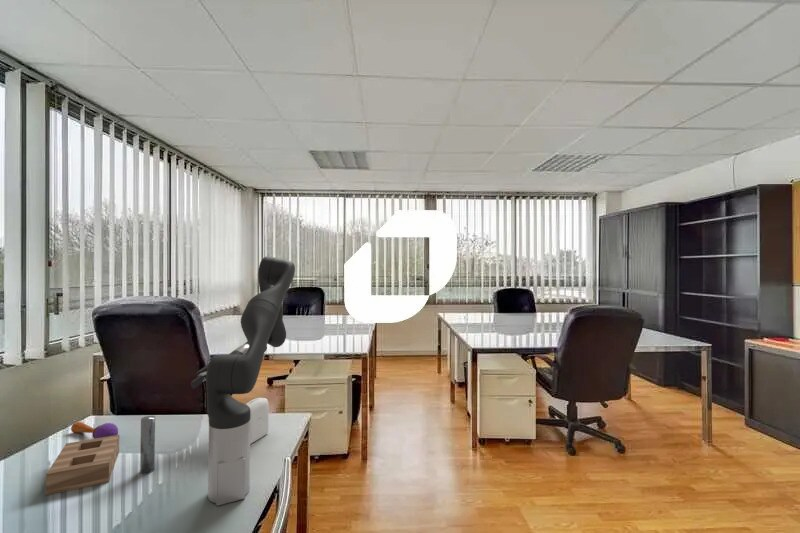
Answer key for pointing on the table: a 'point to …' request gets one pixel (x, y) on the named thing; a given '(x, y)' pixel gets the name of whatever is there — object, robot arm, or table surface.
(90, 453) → the block
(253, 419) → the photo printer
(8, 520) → the table surface
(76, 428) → the maraca
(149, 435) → the pin
